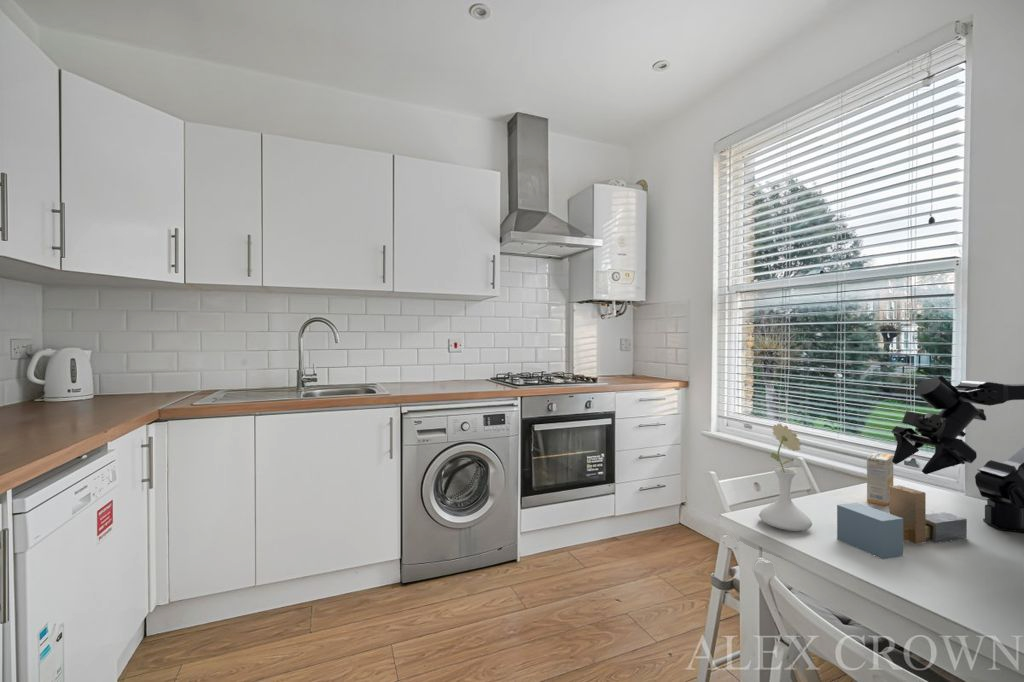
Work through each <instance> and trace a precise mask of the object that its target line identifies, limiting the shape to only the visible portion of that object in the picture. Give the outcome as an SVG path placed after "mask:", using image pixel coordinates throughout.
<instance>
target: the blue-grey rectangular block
mask: <svg viewBox="0 0 1024 682" xmlns="http://www.w3.org/2000/svg"><path fill="white" fill-rule="evenodd" d="M836 506H837V507H836V509H837V510H836V516H837V517H836V539H837V540H838V541H839V542H842V543H845V544H846V545H849V546H852V547H853V548H855V549H858V550H861V551H863V552H865V553H867V554H869V553H870V555H872V556H874V555H875V556H874V557H877V558H878V557H879V558H878V559H881V560H884V559H886V560H887V559H891V558H892V559H893V558H899V557H903V556H904V542H903V518H900V517H898V516H895V515H892V514H890V512H889V513H888V512H885V511H883V510H880V509H877V508H873V507H871V506H869V505H865V504H862V503H859V502H850V503H842V504H837V505H836Z"/></svg>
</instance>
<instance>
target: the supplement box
mask: <svg viewBox="0 0 1024 682" xmlns="http://www.w3.org/2000/svg"><path fill="white" fill-rule="evenodd" d="M893 457H894V454H888V453H887V454H886V453H880V452H873V453H872V454H870V455H868V456H867V457H866V502H867V503H871V502H872V503H871V504H875V503H876V505H881V506H885V507H886V506H889V505H890V486H894V463H893V462H892V460H893Z"/></svg>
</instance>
